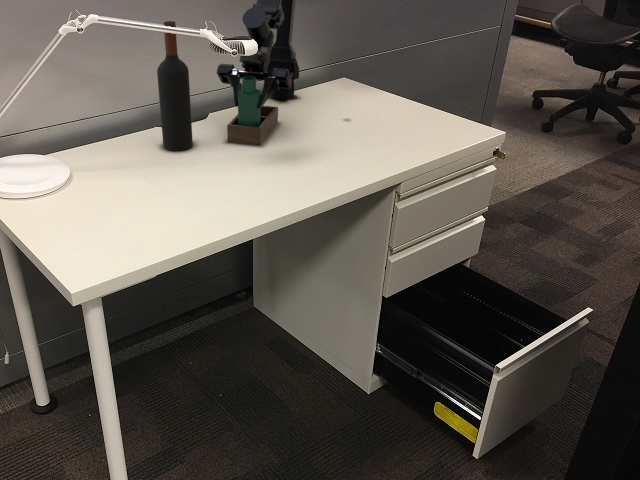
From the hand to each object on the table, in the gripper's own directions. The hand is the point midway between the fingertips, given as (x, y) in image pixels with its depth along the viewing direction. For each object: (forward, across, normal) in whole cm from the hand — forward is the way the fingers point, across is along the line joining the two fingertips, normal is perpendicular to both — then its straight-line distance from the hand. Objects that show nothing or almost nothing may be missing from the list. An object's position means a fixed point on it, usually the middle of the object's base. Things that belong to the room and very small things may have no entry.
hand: (247, 107), depth 170 cm
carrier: (+2, 0, +10) cm, 10 cm away
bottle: (+4, 0, +6) cm, 7 cm away
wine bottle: (+13, -16, 0) cm, 20 cm away
